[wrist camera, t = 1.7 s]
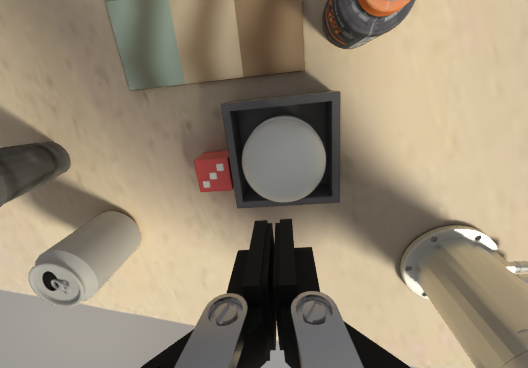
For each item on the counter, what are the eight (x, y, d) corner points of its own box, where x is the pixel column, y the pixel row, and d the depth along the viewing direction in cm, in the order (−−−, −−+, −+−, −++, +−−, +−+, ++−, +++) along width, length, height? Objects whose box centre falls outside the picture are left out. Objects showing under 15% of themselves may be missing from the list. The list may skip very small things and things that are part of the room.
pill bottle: (314, 0, 26) (334, -58, 15) (371, -28, 25) (436, -113, 14) (331, 59, 28) (359, 42, 17) (385, 35, 27) (451, 1, 16)
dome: (319, 110, 27) (333, 119, 19) (320, 182, 30) (333, 215, 22) (243, 117, 28) (227, 129, 20) (252, 186, 31) (241, 220, 23)
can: (97, 202, 37) (16, 252, 26) (146, 215, 37) (87, 270, 26) (97, 243, 40) (23, 303, 29) (142, 255, 40) (87, 320, 29)
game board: (300, -27, 25) (300, -30, 25) (304, 70, 28) (304, 70, 28) (109, 3, 27) (105, 2, 27) (132, 90, 31) (129, 90, 30)
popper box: (331, 90, 29) (340, 91, 24) (331, 186, 33) (339, 202, 29) (195, 105, 31) (179, 108, 26) (212, 194, 35) (201, 210, 30)
